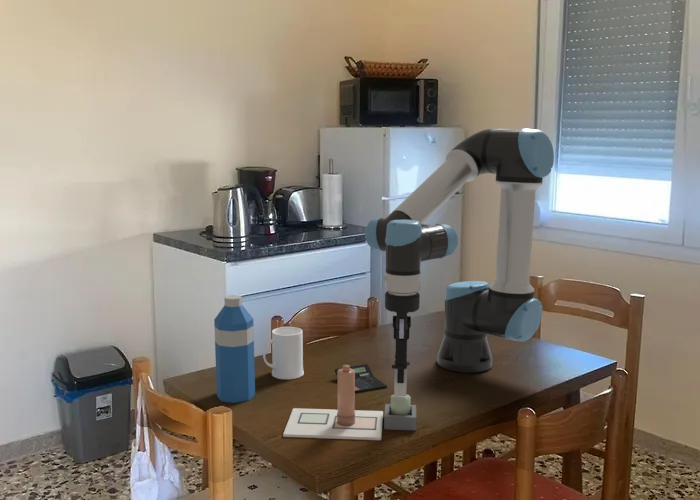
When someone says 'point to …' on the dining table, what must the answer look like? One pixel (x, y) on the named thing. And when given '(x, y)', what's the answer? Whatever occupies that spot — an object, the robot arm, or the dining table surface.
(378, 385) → the calculator
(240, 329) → the water bottle
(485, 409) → the dining table surface
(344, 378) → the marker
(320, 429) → the picture sheet
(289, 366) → the mug
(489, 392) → the dining table surface
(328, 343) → the dining table surface
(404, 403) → the button
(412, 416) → the button housing
